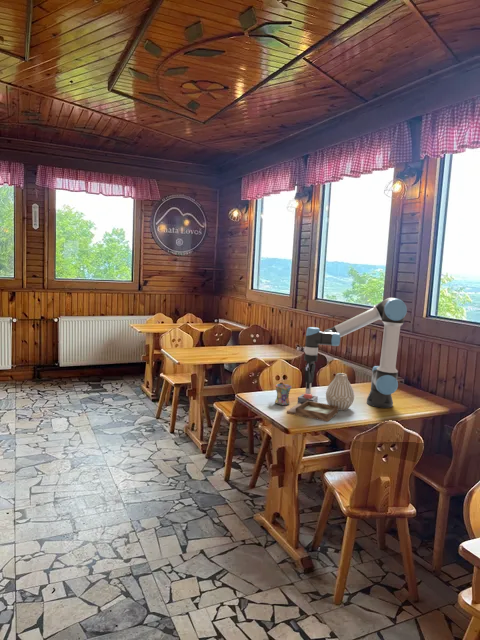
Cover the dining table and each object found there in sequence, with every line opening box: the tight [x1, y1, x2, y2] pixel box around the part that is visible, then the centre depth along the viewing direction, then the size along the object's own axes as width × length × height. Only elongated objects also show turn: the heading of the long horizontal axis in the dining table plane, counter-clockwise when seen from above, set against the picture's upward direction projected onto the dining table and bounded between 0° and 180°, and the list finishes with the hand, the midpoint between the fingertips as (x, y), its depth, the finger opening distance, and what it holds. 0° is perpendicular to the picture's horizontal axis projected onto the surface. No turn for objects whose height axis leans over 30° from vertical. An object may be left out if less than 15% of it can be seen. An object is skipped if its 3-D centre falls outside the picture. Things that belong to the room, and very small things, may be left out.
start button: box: [303, 393, 313, 399], centre depth 274 cm, size 5×5×4 cm
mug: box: [274, 383, 292, 406], centre depth 271 cm, size 12×9×11 cm
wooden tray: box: [286, 401, 339, 422], centre depth 256 cm, size 23×18×4 cm
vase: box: [325, 372, 355, 411], centre depth 267 cm, size 16×16×20 cm
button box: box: [297, 393, 319, 404], centre depth 274 cm, size 9×9×4 cm
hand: (307, 393), depth 273 cm, fingers closed
